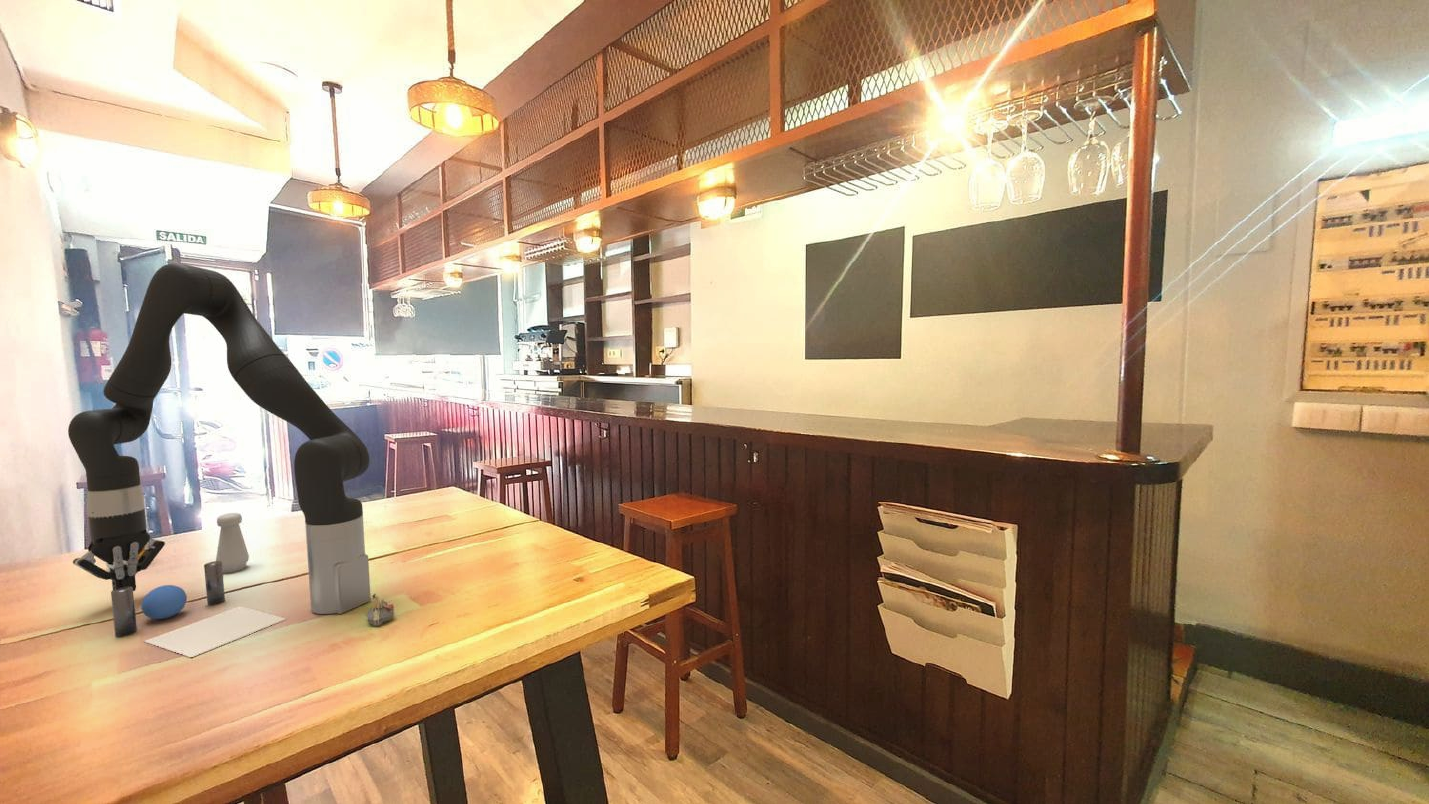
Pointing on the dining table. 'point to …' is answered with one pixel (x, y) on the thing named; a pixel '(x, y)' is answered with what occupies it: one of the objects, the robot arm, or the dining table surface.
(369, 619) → the figurine
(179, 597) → the ball
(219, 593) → the right post
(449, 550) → the dining table surface
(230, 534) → the salt shaker
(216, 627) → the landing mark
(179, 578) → the dining table surface
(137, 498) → the robot arm
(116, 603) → the left post
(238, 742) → the dining table surface
